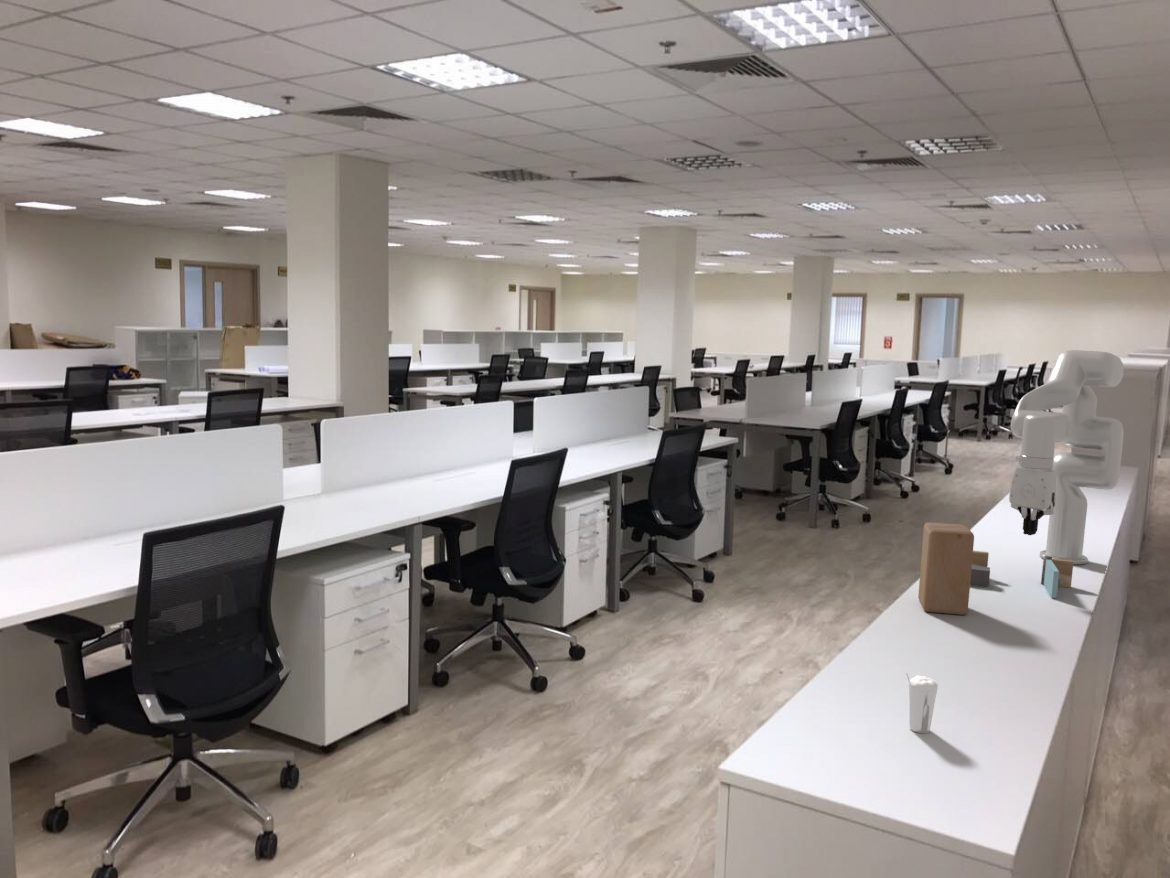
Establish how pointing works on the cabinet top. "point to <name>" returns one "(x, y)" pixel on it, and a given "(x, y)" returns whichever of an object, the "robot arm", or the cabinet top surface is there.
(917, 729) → the milkshake
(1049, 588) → the door
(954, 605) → the wooden block
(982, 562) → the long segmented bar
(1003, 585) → the cabinet top surface
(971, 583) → the charcoal brick
